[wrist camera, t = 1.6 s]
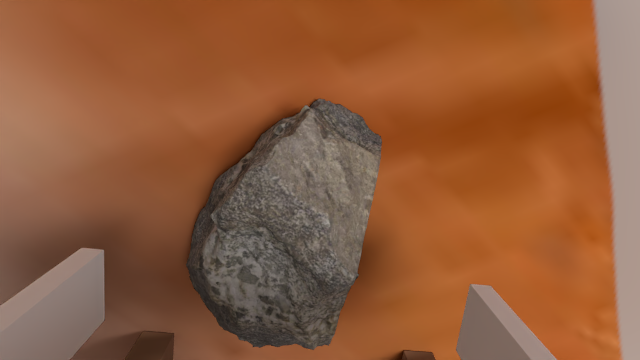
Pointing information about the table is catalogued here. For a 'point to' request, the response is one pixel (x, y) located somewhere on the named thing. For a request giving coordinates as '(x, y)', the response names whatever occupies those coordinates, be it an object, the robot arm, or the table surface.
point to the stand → (157, 348)
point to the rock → (288, 229)
